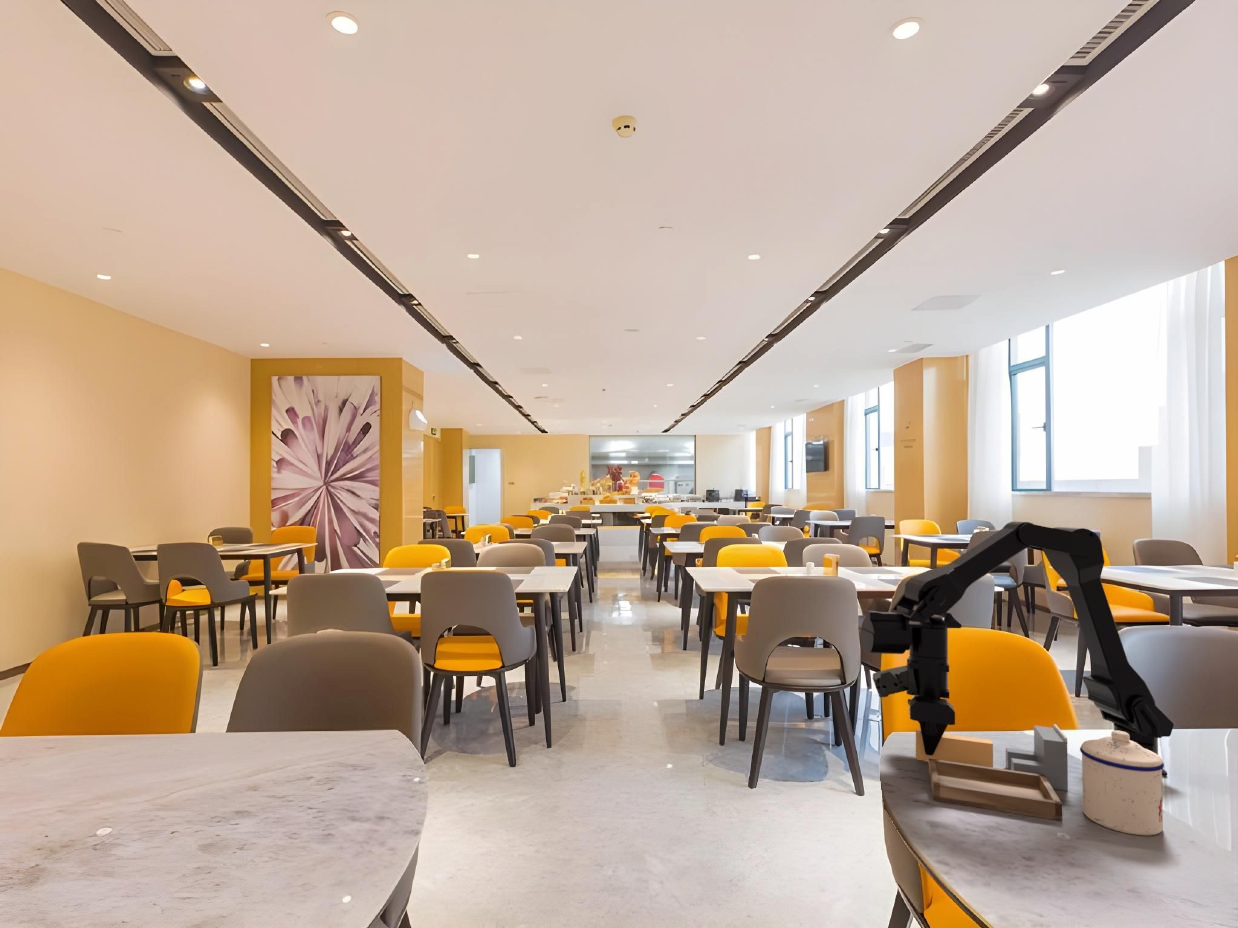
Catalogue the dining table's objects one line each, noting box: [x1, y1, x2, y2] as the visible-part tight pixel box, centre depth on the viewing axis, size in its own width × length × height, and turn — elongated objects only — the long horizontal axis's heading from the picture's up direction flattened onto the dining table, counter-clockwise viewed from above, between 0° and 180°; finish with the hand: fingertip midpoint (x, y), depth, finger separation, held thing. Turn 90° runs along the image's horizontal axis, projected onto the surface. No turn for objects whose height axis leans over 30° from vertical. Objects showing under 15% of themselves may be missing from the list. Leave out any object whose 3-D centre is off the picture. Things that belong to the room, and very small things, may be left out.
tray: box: [928, 759, 1063, 822], centre depth 99 cm, size 11×16×2 cm
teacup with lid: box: [1079, 729, 1165, 836], centre depth 93 cm, size 12×9×12 cm
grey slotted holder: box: [1005, 723, 1069, 792], centre depth 105 cm, size 7×7×8 cm
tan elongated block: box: [915, 729, 994, 768], centre depth 109 cm, size 2×11×4 cm, turn 69°
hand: (928, 752), depth 111 cm, fingers closed on tan elongated block, 2 cm apart
